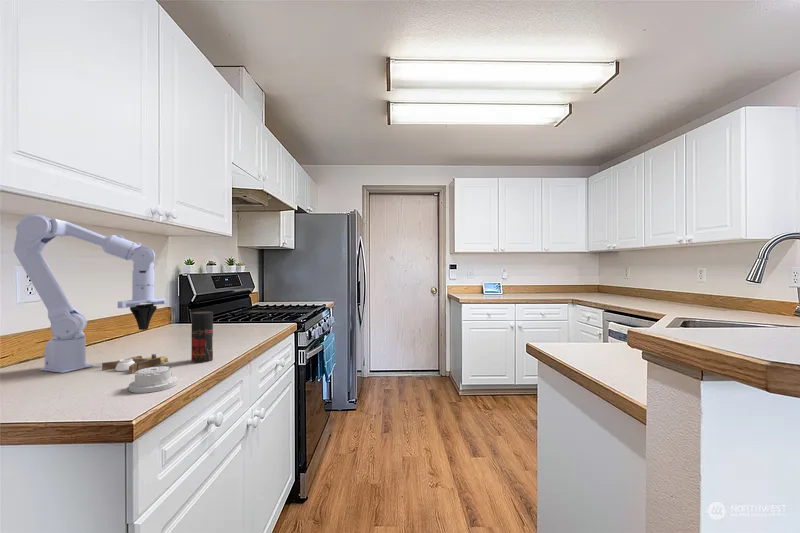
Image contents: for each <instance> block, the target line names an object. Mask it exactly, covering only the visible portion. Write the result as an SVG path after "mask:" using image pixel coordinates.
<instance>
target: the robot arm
mask: <svg viewBox="0 0 800 533" xmlns="http://www.w3.org/2000/svg"><path fill="white" fill-rule="evenodd" d="M15 229H16V234H15V235H16V237H15V239H14V240H15V241H14V247H13V252H14V254H15V256H16V258H17V259H18V261H19V263H20V266H22V268H23V269H24V271H25V273H26V275H27V277H28V278H29V280H30V282H31V284H32V285H33V287H34V289H35V291H36V292H37V294H38V296H39V298H40V299H41V301H42V302H43V304H44V306H45V308H46V309H47V317H48V319H49V322H50V332H51V334H52V335H53V336H52V338H51V339H49V340H48V341H47V342H46V344H45V346H44V367H42V368H40V371H45V372H46V371H47V372H55V373H61V374H62V373H68V372H73V371H77V370H82V369H86V368H87V369H88V368H91V367H93V366H94V364H91V363H86V359H87V356H86V352H87V350H86V348H87V347H86V346H87V345H86V344H87V342H86V341H87V340H86V339H87V338H86V336H87V335H86V333H84V330H85V329H86V328H87V325H88V322H87V321H88V320H87V318H86V317H85V315H83V314H82V313H80V312H79V311H78V310H77V309H76V307H75V306H74V305H73V304H72V303H71V302H70V301H69V298H68V297H67V295H66V293H65V291H64V290H63V288H62V286H61V285H60V283H59V281H58V280H57V278H56V276H55V274H54V272H53V270H52V269H51V266H49V264H48V262H47V260H46V258H45V256H44V254H43V253H42V252H43V251H44V249H45V248H46V246H47V245H48V243H49V242H51V241H52V240H53V239H55V238H56V237H61V238H62V237H74V238H77V239H78V240H82V241H85V242H88V243H91V244H94V245H98V246H100V247H101V248H102V250H103V252H104V253H106V254H108V255H111V256H114V257H117V258H120V259H123V260H125V261H132V262H133V264H132V265H133V266H132V267H133V269H132V278H131V279H132V282H131V284H132V286H131V289H132V291H131V295H132V296H131V297H132V298H131V299H129V300H128V299H127V300H121V301H117V309H126V308H129V310H130V312H131V313H132V315H133V317H134V318H135V320H136V321H135V322H136V323H137V327H138V329H139V331H140V330H141V331H145V330H148V329H149V325H150V323H151V319H152V318H153V315H154V314H155V312H156V310H157V305H167V297H158V298H157V297H156V298H155V282H156V281H155V276H156V274H155V272H156V271H155V270H154V269H155V263H154V261H155V259H156V253H155V251H154V250H153V249H152V248H150V247H148V246H144V245H143V246H142V243H141V242H134V241H131V240H129V239H126V238H125V236H123V235H121V234H118V235H115V234H112V235H109V236H105V235H103V234H100V233H98V232H95V231H92V230H90V229H88V228H85V227H82V226H80V225H77V224H75V223H72V222H69V221H67V220H62V219H59V218H53V217H47V216H45V215H43V214H38V213H30V214H27V215H25V216H23V217H22V219H20V221H19V222H18V224H17V225H16V226H15Z"/></svg>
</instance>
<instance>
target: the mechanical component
mask: <svg viewBox="0 0 800 533" xmlns="http://www.w3.org/2000/svg"><path fill="white" fill-rule="evenodd" d="M177 384H178V378H177V377H176V376H172V367H169V366H163V365H161V366H153V367H149V368H144V369H141V370H137V371H136V372H134V381H132V382H130V383H129V384H128V392H131V393H136V394H142V393H143V394H144V393H153V392H159V391H160V392H161V391H163V390H168V389H171V388H173V387H175V386H176V385H177Z"/></svg>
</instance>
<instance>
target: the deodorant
mask: <svg viewBox="0 0 800 533" xmlns="http://www.w3.org/2000/svg"><path fill="white" fill-rule="evenodd" d="M213 360H214V311H206V310H205V311H193V312H191V362H192V363H195V364H202V363H208V362H211V361H213Z"/></svg>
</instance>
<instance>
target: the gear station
mask: <svg viewBox="0 0 800 533" xmlns="http://www.w3.org/2000/svg"><path fill="white" fill-rule="evenodd" d="M128 358H129V357H128ZM128 358H126V359H128ZM130 358H131V359H133V361H134V362H135V363H134V364H132V365H131V366H129V371H128V374H129V375H132V374H135V372H138V370H141V369H144V368H150V367H158V366H160V365H161V366H162V364H164V363H166V362H169V357H168V356H166V355H157V354H156V353H152V354H151V356H148V357H143V356H142V355H137V356H132V357H130ZM120 360H121V359H119V360H115V361H106V362H101V371H109V370H115V368H116V366H117V364H118V363H119V362H120Z"/></svg>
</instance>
